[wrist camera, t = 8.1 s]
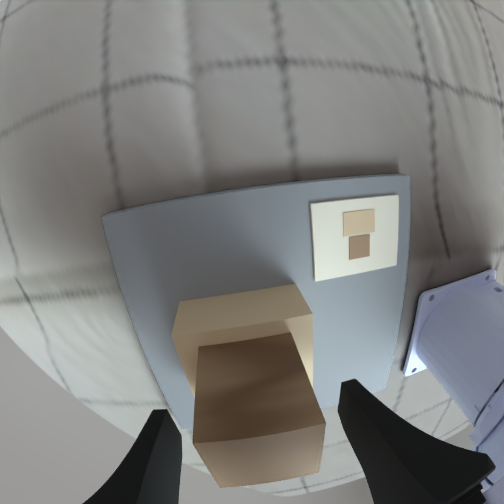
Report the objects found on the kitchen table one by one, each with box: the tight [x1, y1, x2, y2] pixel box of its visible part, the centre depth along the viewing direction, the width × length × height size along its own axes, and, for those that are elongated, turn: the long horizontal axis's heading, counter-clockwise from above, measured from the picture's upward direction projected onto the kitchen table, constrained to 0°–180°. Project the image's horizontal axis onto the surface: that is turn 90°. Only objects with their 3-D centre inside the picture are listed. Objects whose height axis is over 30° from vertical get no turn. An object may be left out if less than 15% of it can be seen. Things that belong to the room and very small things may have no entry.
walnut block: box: [193, 332, 326, 488], centre depth 10 cm, size 4×4×5 cm
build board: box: [101, 174, 411, 429], centre depth 14 cm, size 16×16×4 cm
